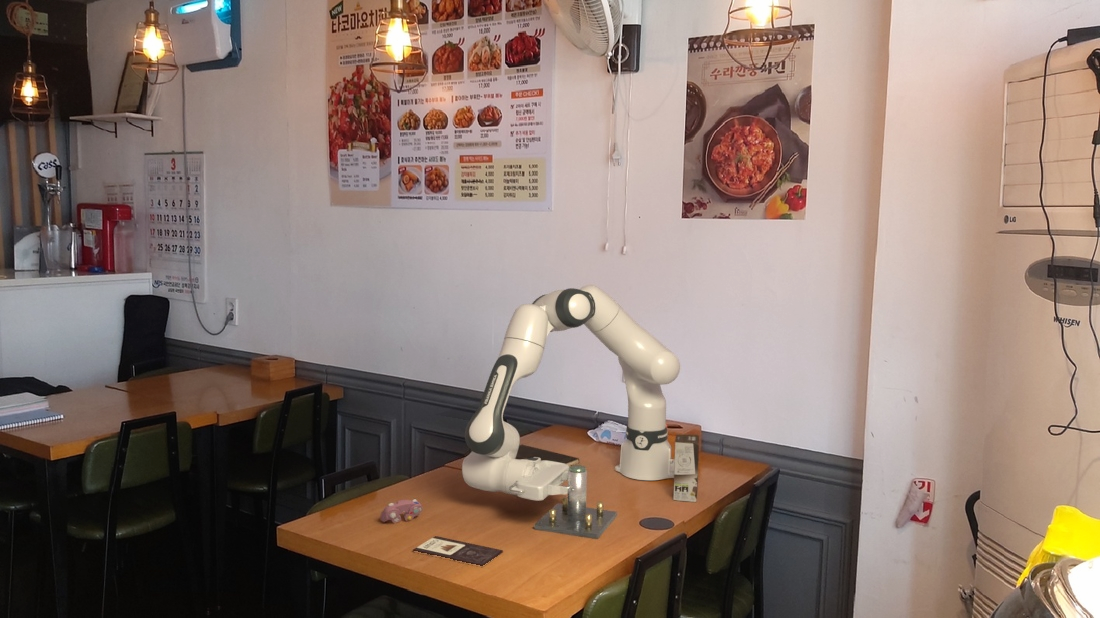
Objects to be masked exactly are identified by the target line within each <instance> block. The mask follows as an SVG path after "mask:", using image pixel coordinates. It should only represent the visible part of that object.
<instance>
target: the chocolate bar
mask: <svg viewBox="0 0 1100 618" xmlns="http://www.w3.org/2000/svg"><path fill="white" fill-rule="evenodd" d="M413 551H418V552H421V553H427V554H430V555H437V556H441V557H445V558H450V559H453V560H457V561H462V562H466V563H471V564H476V565H480V566H483V565H485V564H486V563H488V562H489V561H490V562H492V561H493V560H494V558H495V557H496V558H498V557H499V556H500V555H502V554H503V553H504V550H503V549H498V548H493V547H488V546H484V545H480V544H476V543H475V544H474V543H470V542H465V541H460V540H457V539H451V538H447V537H442V536H439V535H438V536H433V537H432V538H430V539H428V540H427V541H425V542H423V543H422V544H420V545H418V546H417V547H415V548H414V549H412V552H413ZM498 555H499V556H498ZM496 558H495V559H496ZM492 559H493V560H492ZM491 560H492V561H491ZM490 562H489V563H490ZM489 563H488V564H489ZM486 565H487V564H486ZM486 565H485V566H486Z"/></svg>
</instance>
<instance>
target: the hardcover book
mask: <svg viewBox="0 0 1100 618" xmlns="http://www.w3.org/2000/svg"><path fill="white" fill-rule="evenodd" d="M533 457H538V458H541V461H543V460H547V461H554V462H559V463H564V464H567V465H568V466H569V467H570V465H572V464H574V465H576V464H575V463H577V464H579V463H580V458H579V457H576V456H571V455H567V454H563V453H559V452H554V451H550V450H546V449H542V448H538V447H534V446H529V445H526V444H520V446H519V449H518V453H517V456H516V459H519V460H521V459H524V460H525V459H530V458H533ZM578 462H579V463H578Z"/></svg>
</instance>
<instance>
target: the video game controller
mask: <svg viewBox="0 0 1100 618" xmlns="http://www.w3.org/2000/svg"><path fill="white" fill-rule="evenodd" d="M423 509H424V508H423V505H422V504H421V502H420V501H419V500H418V499H412V500H411V499H406V498H405V499H400V500H398V501H395V502H390V503H388V505H386V506H385V507H384V509H383V510H382V511H381V513H380V521H381V522H382V523H386V522H387V521H389V520H390V521H391V522H392V523H393V524H397V523H396V522H398V523H400V522H401V521H402V517H401V514H403V518H404V520H405V521H406V522H410V521H409V520H411V521H413V519H414V518H415V517H418V516H419V515H420V514H421V513H422V512H423Z"/></svg>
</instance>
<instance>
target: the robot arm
mask: <svg viewBox="0 0 1100 618" xmlns="http://www.w3.org/2000/svg"><path fill="white" fill-rule="evenodd" d="M583 325H584V326H585V327H586V328H587V329H588V331H590V333H592V334H593V335H594V336H595V337H596V338H597V339H598V340H599V341H600V342H601V343H602V344H603V345H604V346H605V347H606V348H607V349H608V350H609V351H610V352H611V353H613V354H614V355H615V356H617V357H618V358H617V360H618V363H619V365H620V368H621V369H622V373H623V378H624V383H625V388H626V394H627V403H628V405H627V425H626V430H625V434H626V435H625V438H626V440H624V441H623V442H622V443H621V446H620V459H619V464H617V465H615V467H614V471H616V472H618V473H620V474H621V475H623V476H624V477H627V478H630V479H633V480H638V481H659V480H665V479H674V460H675V458H672V445H671V444H670V442H669V440H668V439H669V438H668V437H669V436H668V434H669V432H668V424H667V423H666V422H667V400H666V398H665V395H664V393H663V390H662V387H661V385H664V386H665V385H668V384H671V383H673V382H674V381H675V380H676V379H677V378H678V376H679V374H680V370H681V362H680V359H679V357H678V356H677V355H676V354H674V352H672V351H671V350H670V349H669V348H667V346H666V345H665V344H663V343H662V342H661V341H660V340H659V339H657V338H656V337H655V336H654V335H652V334H651V333H650V332H649V331H647V330H646V329H645V328H644V327H642V325H640V324H639V323H637V321H635V319H634V318H633V317H632V316H631V315H630V314H629V313H628V312H627V311H626V310H625V309H624V308H623V307H622V306H620V304H619V303H618V302H617V301H616V300H615V299H613V298H612V297H611V296H610V295H609V294H608V293H607V292H605V291H604V290H603V289H601V288H600V287H598V286H596V285H593V284H588V285H587V284H586V285H585V286H582V287H580V288H574V287H573V288H572V287H571V288H566V289H558V290H557V289H556V290H554V291H551V292H549V293H547V294H542V295H541V296H538V297H537V298H536V299H535V300H534V301H532V303H524V304H521V305H519V306H518V307H517V308H516V309H515V310H514V312H513V313H512V315H511V319H510V321H509V323H508V325H507V328H506V331H505V333H504V334H505V335H504V338H503V342H502V344H501V345H502V346H501V349H500V351H499V354H498V357H497V359H496V361H495V363H494V365H493V367H492V369H491V372H490V374H489V376H488V380H487V383H486V386H485V388H484V391H483V394H482V397H481V399H480V402H479V404H478V407H477V409H476V411H475V413H473V415H472V416H471V418H470V419H469V421H468V422H467V424H466V427H465V432H464V439H465V443H466V445H467V447H468V448H469V450H470V451H471V452H470V453H469V454H468V455H467V456H466V457H464V459H463V461H462V465H461V473H462V477H463V481H464V482H465V483H466V484H467V486H469V487H471V488H473V489H477V490H481V491H485V492H492V493H497V492H503V493H504V494H508V495H514V496H517V497H519V498H521V499H526V500H531V501H536V502H538V501H539V502H540V501H544V499H546V498H547V497H548V496H556V495H564V496H566V495H568V492H569V487H568V485H564V483H565V482H568V470H569V467H570V466H568V465H567V464H564V463H559V462H554V461H547V460H543V461H541V458H538V457H533V458H530V459H525V460H524V459H521V460H519V459H516V456H517V453H518V449H519V446H520V445H521V436H520V433H519V431H518V429H517V428H516V427H515V426H514V425H512V424H510V423H508V422H506V421H504V418H503V417H504V416H503V415H504V411H505V410H506V409H505V408H506V406H507V403H508V399H509V397H510V393H511V392H512V388H513V386H514V385H515V384H516V383H517V382H518V381H519V380H521V379H523V378H527V377H530V376H532V375H534V373H536V372H537V370H538V368H539V366H540V364H541V361H542V358H543V355H544V351H545V347H546V342H547V338H548V335H549V334H550V333H552V332H562V331H567V330H570V329H576V328H579V327H581V326H583Z"/></svg>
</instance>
